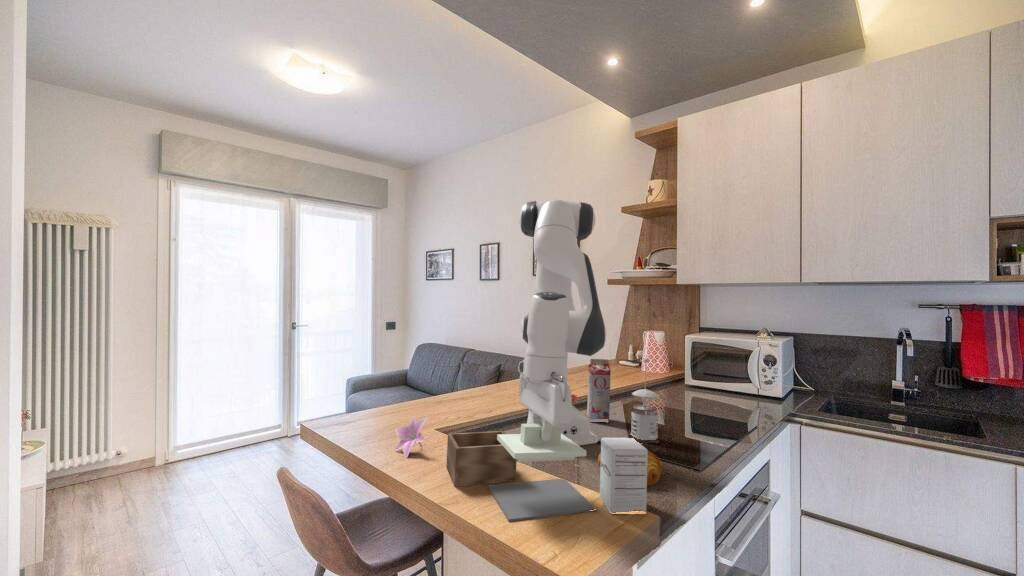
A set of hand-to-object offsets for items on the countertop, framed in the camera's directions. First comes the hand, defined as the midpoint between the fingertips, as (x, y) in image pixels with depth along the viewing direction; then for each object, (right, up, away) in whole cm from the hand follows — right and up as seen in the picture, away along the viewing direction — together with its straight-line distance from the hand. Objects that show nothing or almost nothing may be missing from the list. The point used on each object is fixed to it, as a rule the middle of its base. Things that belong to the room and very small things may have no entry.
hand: (541, 436), depth 86 cm
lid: (0, -3, 0) cm, 3 cm away
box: (-14, -13, +11) cm, 22 cm away
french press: (+35, -17, +45) cm, 59 cm away
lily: (-33, -13, +25) cm, 43 cm away
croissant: (+23, -15, +15) cm, 31 cm away
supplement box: (+16, -13, -2) cm, 21 cm away
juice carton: (+25, -17, +64) cm, 71 cm away
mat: (0, -13, 0) cm, 13 cm away
